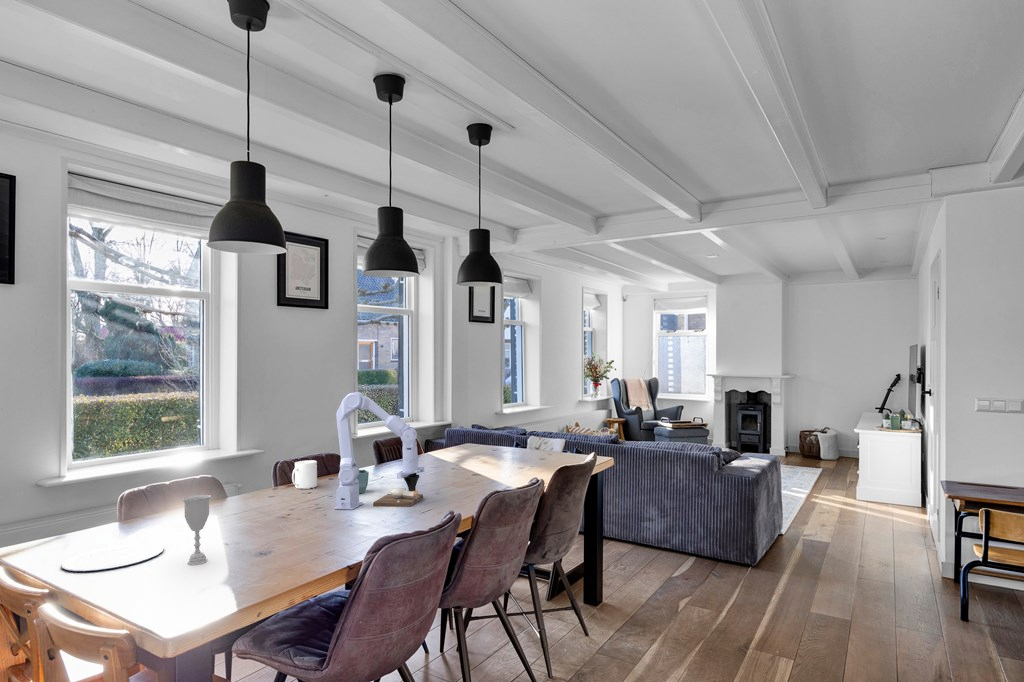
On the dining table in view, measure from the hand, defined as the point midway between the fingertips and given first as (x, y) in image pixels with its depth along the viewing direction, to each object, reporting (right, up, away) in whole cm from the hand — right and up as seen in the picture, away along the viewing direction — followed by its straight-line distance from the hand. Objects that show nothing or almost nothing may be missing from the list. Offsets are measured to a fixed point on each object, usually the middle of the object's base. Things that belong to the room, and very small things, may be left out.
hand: (412, 493), depth 235 cm
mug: (-54, -7, +36) cm, 66 cm away
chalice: (-50, -3, -65) cm, 82 cm away
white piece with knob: (-3, -1, +1) cm, 3 cm away
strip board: (-6, -4, +3) cm, 8 cm away
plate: (-77, -4, -59) cm, 97 cm away
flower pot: (-27, -6, +23) cm, 36 cm away
